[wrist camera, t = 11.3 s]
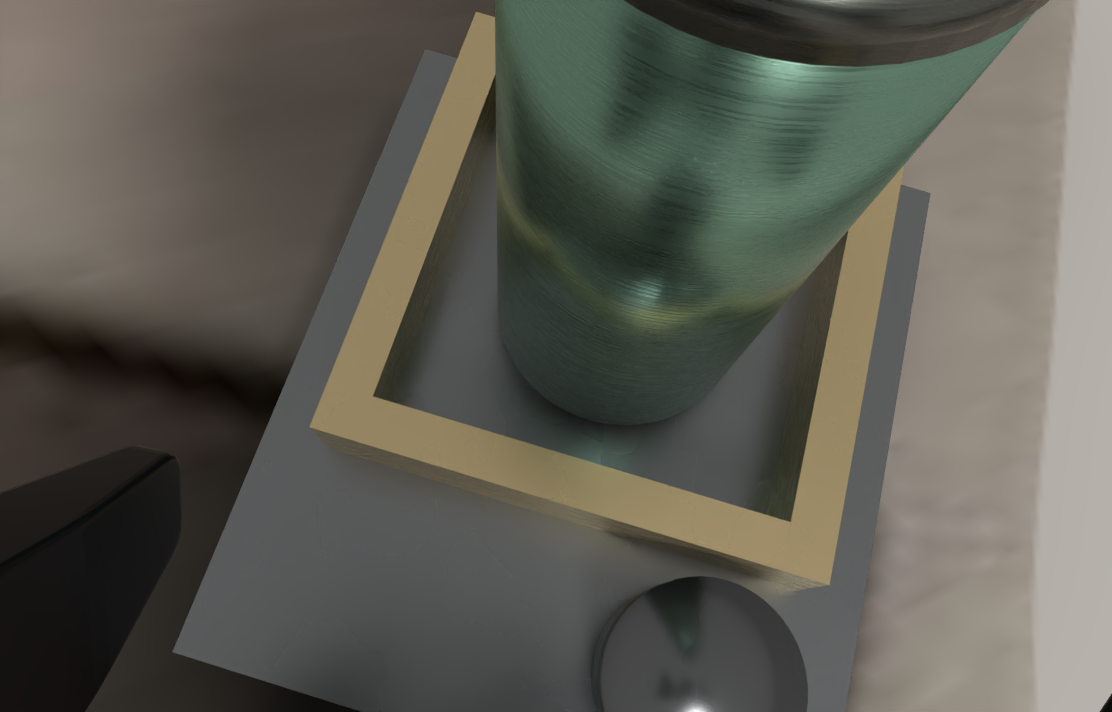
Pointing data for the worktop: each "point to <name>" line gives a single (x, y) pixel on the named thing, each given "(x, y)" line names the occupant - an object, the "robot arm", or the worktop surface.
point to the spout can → (698, 171)
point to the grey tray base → (552, 475)
